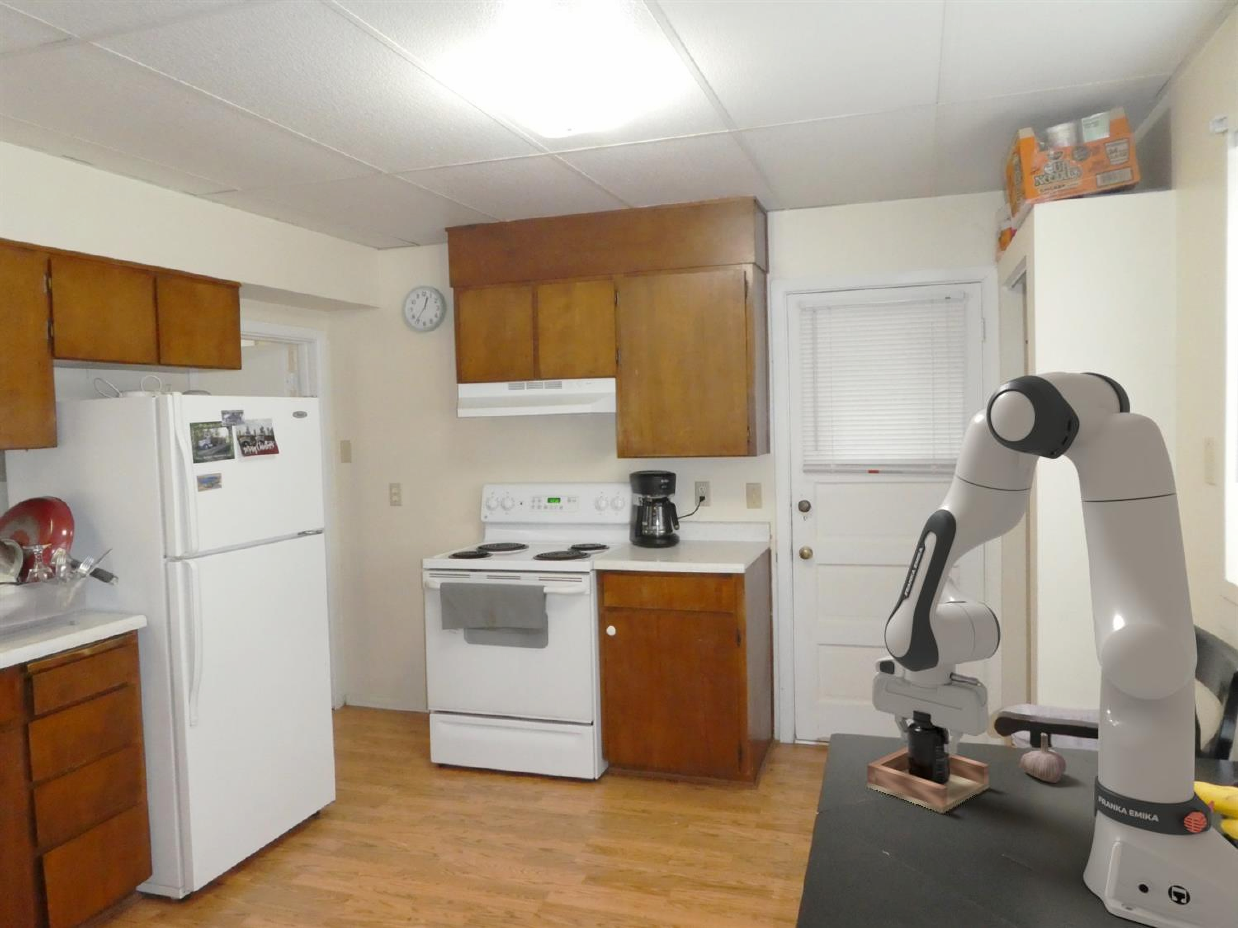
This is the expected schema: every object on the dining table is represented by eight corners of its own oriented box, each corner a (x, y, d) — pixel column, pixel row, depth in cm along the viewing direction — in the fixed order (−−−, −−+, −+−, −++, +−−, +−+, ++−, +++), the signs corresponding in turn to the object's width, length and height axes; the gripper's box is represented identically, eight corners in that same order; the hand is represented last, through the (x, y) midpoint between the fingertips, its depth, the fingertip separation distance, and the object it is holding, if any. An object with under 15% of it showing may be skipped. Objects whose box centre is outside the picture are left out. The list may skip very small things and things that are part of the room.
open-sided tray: (988, 787, 153) (988, 764, 153) (942, 814, 143) (942, 789, 143) (915, 764, 164) (914, 743, 164) (867, 787, 154) (867, 764, 154)
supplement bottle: (944, 770, 156) (943, 703, 156) (955, 787, 150) (954, 716, 149) (903, 770, 157) (903, 703, 156) (912, 786, 150) (911, 716, 150)
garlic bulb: (1063, 789, 152) (1063, 743, 152) (1016, 780, 156) (1017, 735, 156) (1068, 773, 159) (1068, 729, 158) (1023, 765, 163) (1023, 722, 162)
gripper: (996, 676, 147) (996, 759, 147) (886, 653, 162) (887, 728, 163) (976, 684, 142) (976, 769, 143) (866, 660, 158) (867, 737, 159)
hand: (928, 747), depth 153 cm, fingers closed on supplement bottle, 7 cm apart
